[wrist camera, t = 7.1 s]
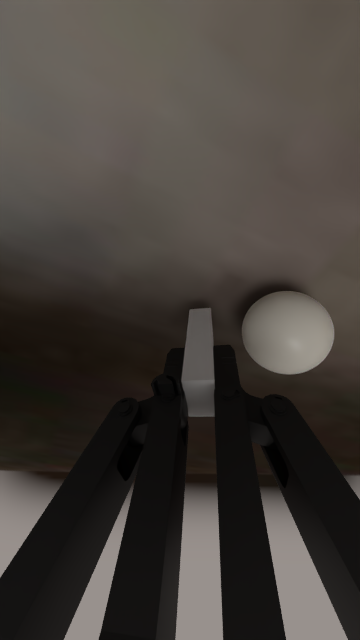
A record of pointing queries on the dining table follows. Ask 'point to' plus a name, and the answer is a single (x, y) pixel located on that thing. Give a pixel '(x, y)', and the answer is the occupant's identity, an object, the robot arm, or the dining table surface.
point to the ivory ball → (287, 332)
